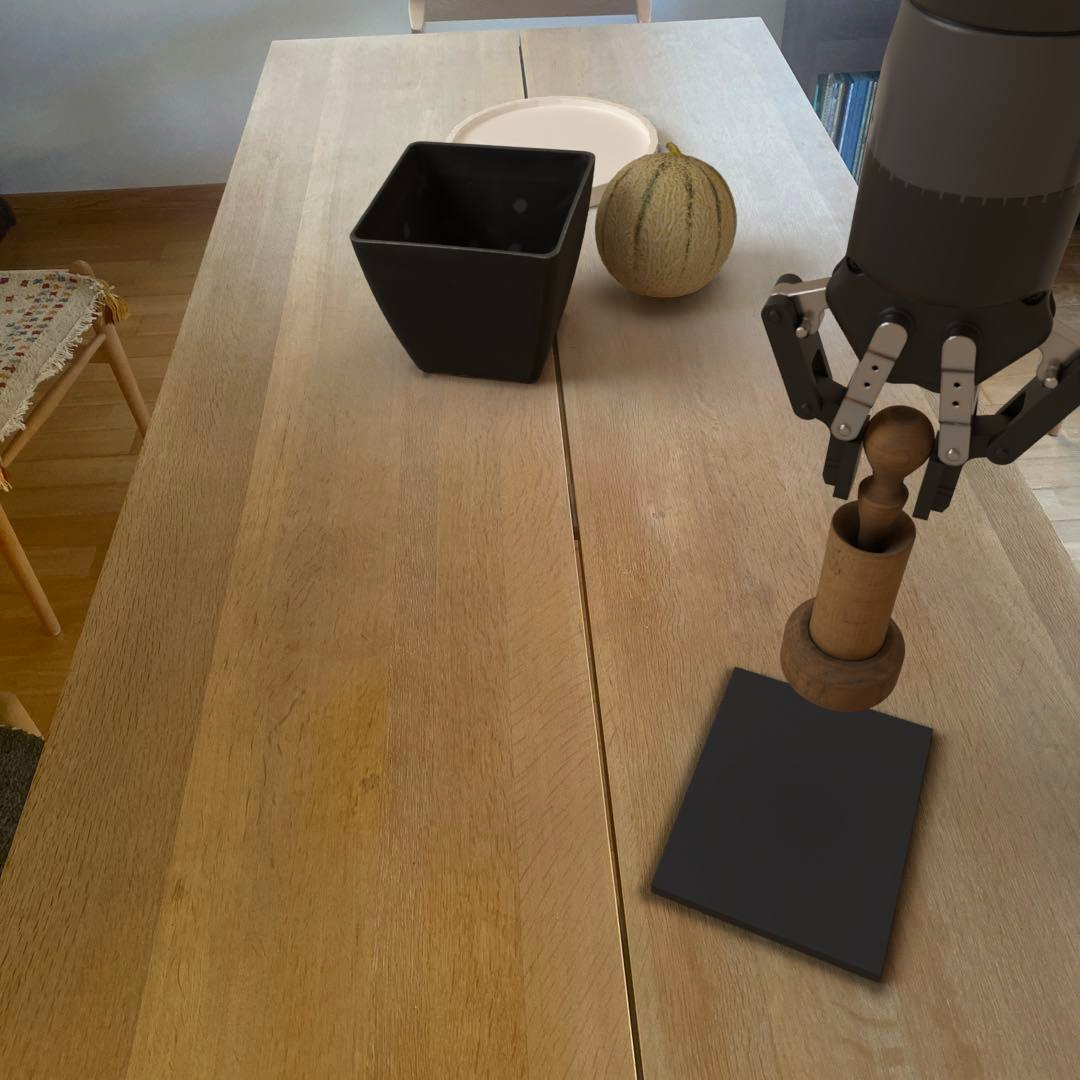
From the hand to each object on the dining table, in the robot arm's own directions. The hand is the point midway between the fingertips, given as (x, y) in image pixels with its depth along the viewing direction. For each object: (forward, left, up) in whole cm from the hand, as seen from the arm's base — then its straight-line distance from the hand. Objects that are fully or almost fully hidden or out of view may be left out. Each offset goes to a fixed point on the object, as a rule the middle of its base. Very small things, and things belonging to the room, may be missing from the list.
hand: (883, 496), depth 47 cm
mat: (0, +1, -27) cm, 27 cm away
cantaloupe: (+29, -55, -28) cm, 68 cm away
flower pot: (+42, -39, -28) cm, 63 cm away
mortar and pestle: (0, 0, -13) cm, 13 cm away
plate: (+53, -79, -28) cm, 99 cm away
